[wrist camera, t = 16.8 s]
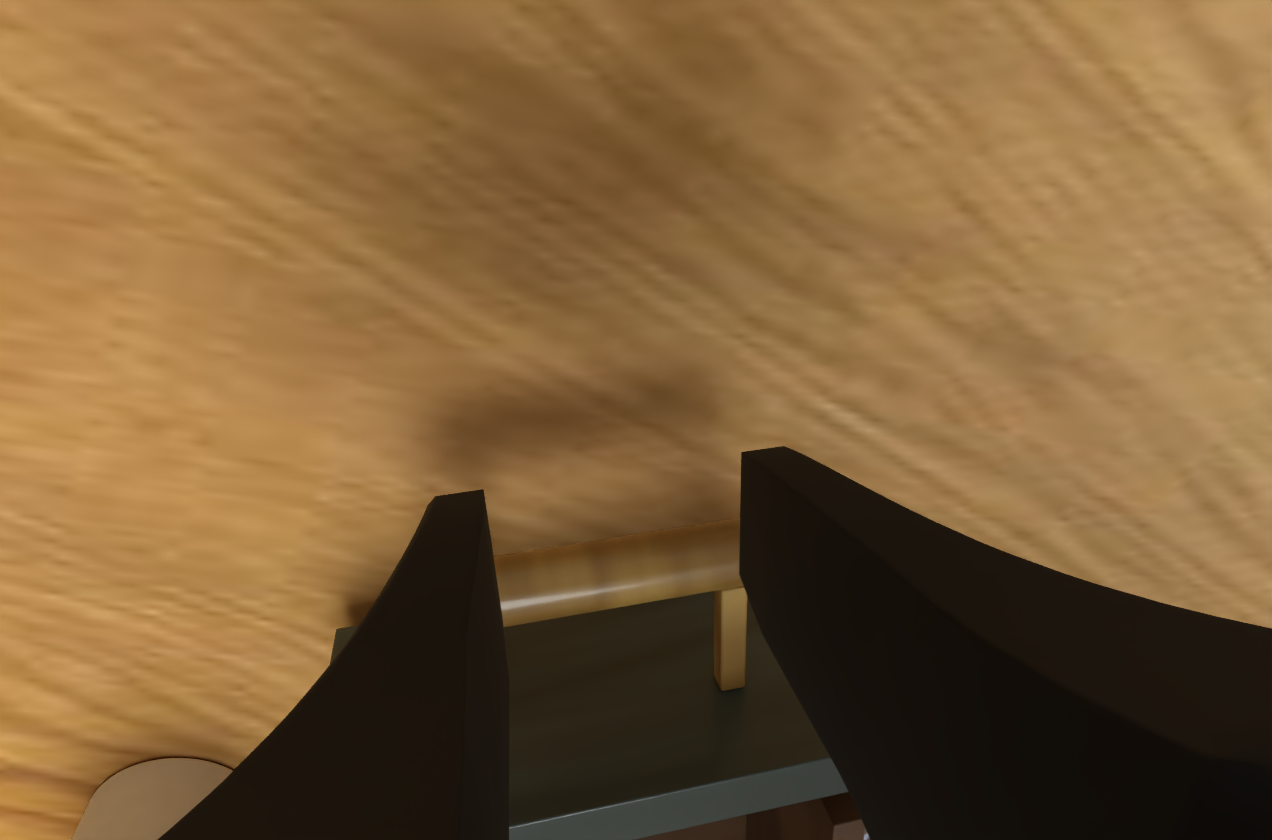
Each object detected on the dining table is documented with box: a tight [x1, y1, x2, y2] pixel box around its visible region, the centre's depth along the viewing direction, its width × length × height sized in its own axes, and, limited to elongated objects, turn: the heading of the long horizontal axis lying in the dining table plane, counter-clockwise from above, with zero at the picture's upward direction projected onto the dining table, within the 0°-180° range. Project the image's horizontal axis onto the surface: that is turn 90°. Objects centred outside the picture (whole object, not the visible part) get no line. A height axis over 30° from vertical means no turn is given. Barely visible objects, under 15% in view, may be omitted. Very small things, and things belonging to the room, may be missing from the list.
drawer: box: [330, 518, 865, 840], centre depth 21 cm, size 18×12×7 cm
